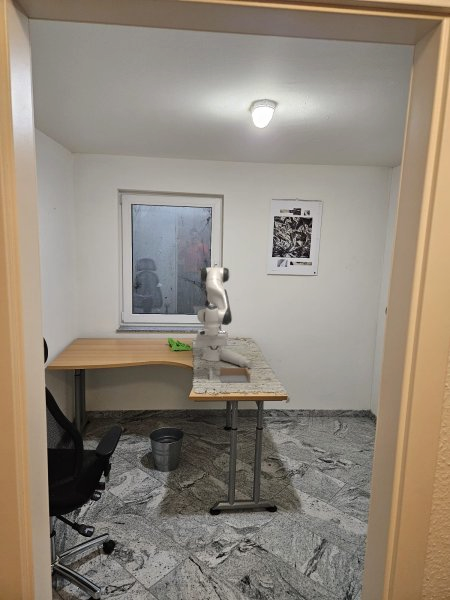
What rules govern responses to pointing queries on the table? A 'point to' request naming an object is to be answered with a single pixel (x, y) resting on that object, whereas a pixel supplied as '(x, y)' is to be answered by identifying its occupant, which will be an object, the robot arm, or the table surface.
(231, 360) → the bottle
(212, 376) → the bracket
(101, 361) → the table surface
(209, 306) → the robot arm
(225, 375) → the tray
